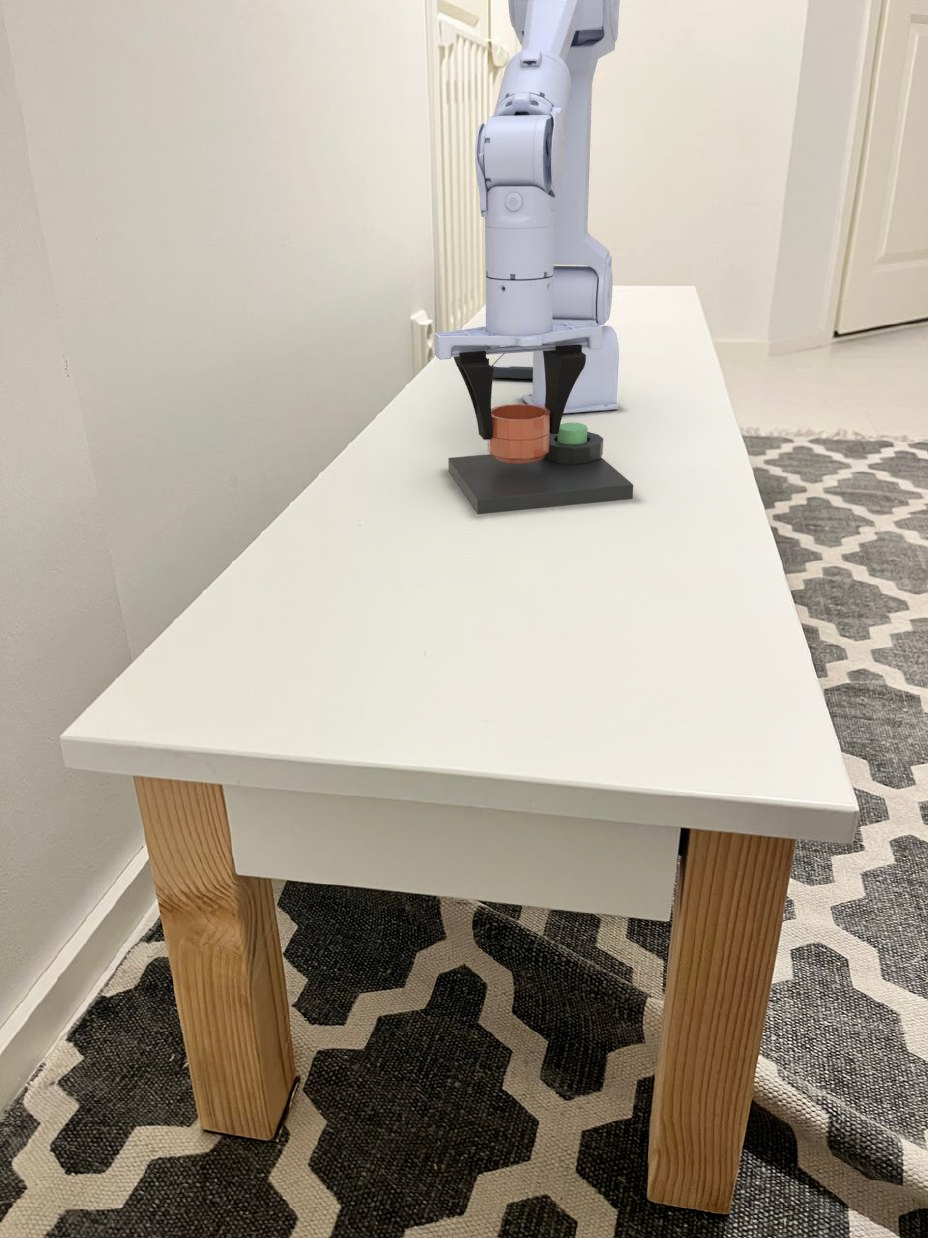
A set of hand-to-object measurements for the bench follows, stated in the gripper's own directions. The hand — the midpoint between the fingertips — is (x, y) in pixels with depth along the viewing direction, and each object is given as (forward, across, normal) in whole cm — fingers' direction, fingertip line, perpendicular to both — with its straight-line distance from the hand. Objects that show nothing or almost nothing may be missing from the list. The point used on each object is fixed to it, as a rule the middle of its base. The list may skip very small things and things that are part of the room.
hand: (518, 433), depth 88 cm
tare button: (+2, +6, +3) cm, 7 cm away
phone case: (+5, +14, +45) cm, 48 cm away
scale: (+5, +2, -1) cm, 5 cm away
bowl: (+2, 0, 0) cm, 2 cm away
